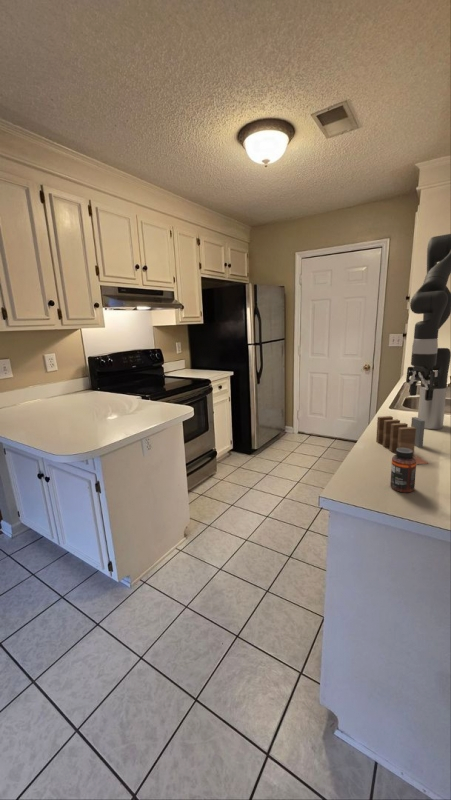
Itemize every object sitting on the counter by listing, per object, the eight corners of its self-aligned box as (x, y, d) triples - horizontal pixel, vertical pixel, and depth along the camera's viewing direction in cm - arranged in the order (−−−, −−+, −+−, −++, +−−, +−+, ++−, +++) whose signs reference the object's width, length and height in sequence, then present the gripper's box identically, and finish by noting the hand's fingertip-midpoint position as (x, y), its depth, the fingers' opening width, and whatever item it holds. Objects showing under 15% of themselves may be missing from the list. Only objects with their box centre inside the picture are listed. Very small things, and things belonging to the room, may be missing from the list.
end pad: (399, 458, 109) (399, 457, 109) (417, 457, 110) (417, 456, 110) (408, 465, 105) (408, 464, 105) (427, 463, 105) (427, 462, 105)
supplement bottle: (413, 485, 92) (416, 447, 90) (415, 495, 87) (418, 455, 84) (389, 481, 95) (392, 445, 92) (390, 491, 89) (392, 452, 87)
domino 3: (389, 450, 117) (391, 423, 114) (402, 449, 117) (404, 422, 115) (391, 452, 115) (393, 425, 113) (405, 451, 115) (407, 424, 113)
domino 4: (396, 455, 112) (398, 427, 110) (410, 454, 112) (413, 426, 110) (399, 457, 111) (401, 429, 108) (413, 456, 111) (415, 428, 109)
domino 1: (376, 441, 125) (377, 416, 123) (388, 440, 126) (390, 415, 123) (378, 443, 124) (379, 418, 122) (391, 442, 124) (392, 417, 122)
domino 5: (418, 447, 118) (420, 421, 116) (409, 442, 123) (411, 417, 120) (422, 447, 118) (424, 420, 116) (413, 442, 123) (416, 417, 121)
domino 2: (382, 446, 121) (384, 420, 119) (395, 445, 121) (397, 419, 119) (384, 447, 119) (386, 421, 117) (398, 446, 120) (400, 420, 117)
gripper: (449, 353, 106) (444, 401, 110) (421, 350, 120) (417, 393, 123) (427, 354, 106) (423, 402, 109) (401, 351, 119) (398, 394, 123)
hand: (420, 397), depth 116 cm, fingers open, 8 cm apart
